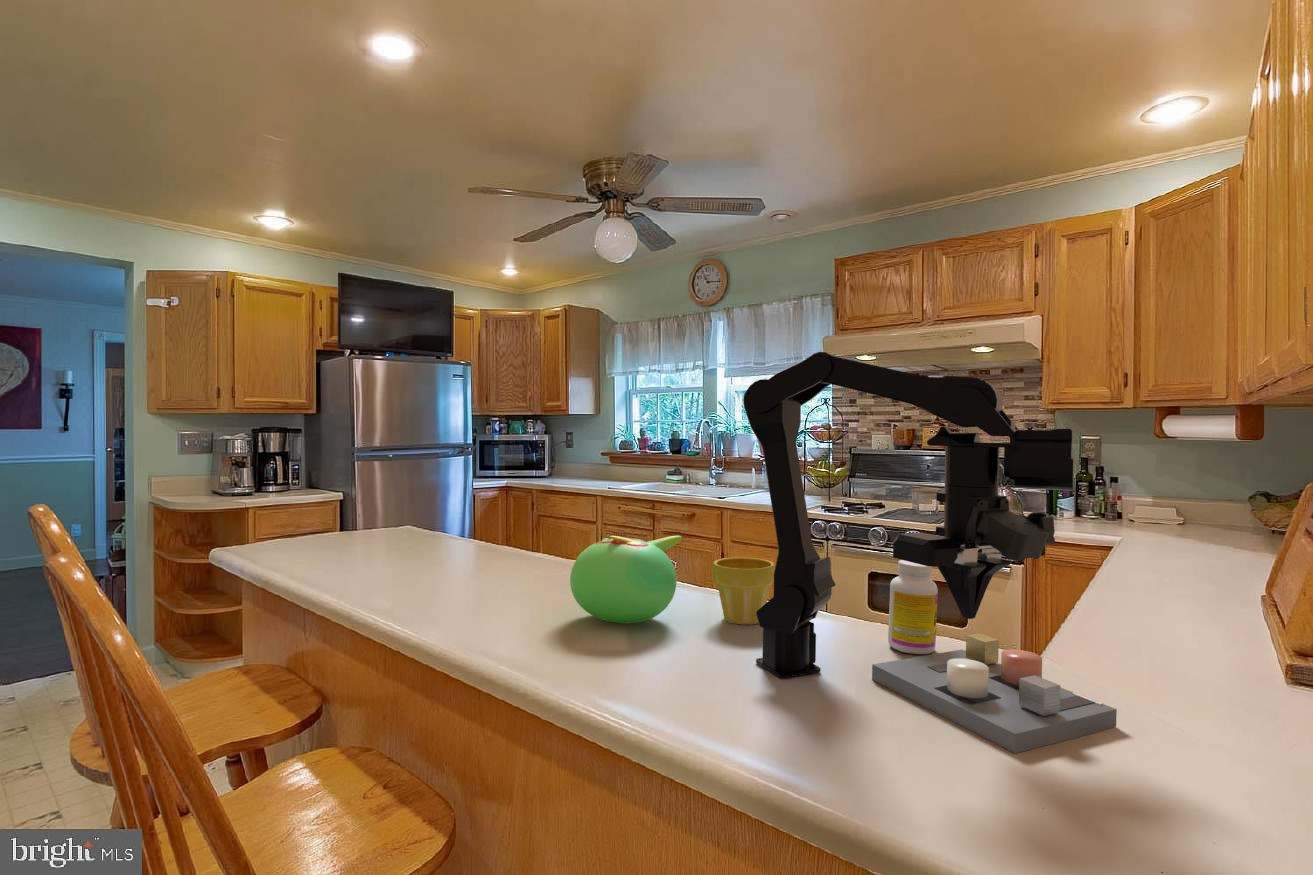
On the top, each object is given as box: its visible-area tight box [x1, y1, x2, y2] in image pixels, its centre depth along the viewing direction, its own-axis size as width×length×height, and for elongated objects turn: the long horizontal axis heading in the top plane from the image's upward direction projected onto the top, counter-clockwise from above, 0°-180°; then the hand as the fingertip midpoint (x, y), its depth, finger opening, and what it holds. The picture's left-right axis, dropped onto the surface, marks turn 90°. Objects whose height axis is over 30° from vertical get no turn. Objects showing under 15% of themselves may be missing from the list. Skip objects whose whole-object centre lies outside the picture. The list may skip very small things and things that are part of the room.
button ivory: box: [947, 658, 989, 698], centre depth 78 cm, size 4×4×3 cm
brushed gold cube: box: [965, 633, 1000, 665], centre depth 88 cm, size 2×3×3 cm
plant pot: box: [712, 557, 775, 626], centre depth 113 cm, size 10×10×10 cm
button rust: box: [1000, 648, 1043, 685], centre depth 81 cm, size 4×4×3 cm
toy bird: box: [569, 535, 683, 624], centre depth 112 cm, size 18×17×15 cm
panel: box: [871, 649, 1118, 754], centre depth 80 cm, size 16×21×2 cm
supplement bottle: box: [887, 559, 939, 655], centre depth 99 cm, size 7×7×13 cm
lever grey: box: [1018, 675, 1061, 716], centre depth 73 cm, size 2×3×3 cm
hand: (968, 618), depth 78 cm, fingers closed
